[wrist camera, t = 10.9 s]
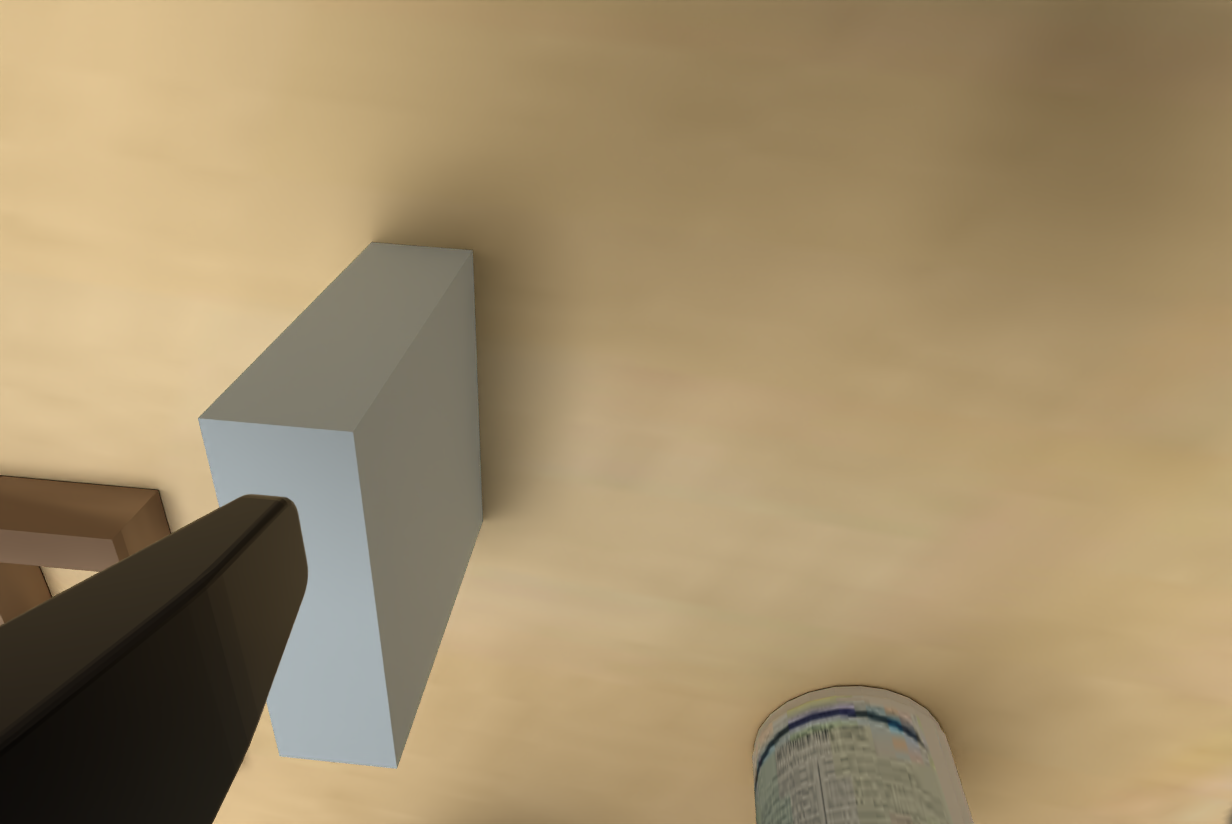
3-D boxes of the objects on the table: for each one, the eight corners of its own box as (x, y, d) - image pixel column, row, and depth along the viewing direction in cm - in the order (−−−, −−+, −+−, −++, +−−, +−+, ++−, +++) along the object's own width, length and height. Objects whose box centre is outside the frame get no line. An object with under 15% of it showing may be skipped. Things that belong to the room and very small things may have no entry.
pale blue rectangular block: (483, 520, 24) (396, 768, 17) (399, 512, 24) (279, 756, 17) (473, 249, 19) (352, 431, 13) (371, 241, 19) (197, 418, 13)
